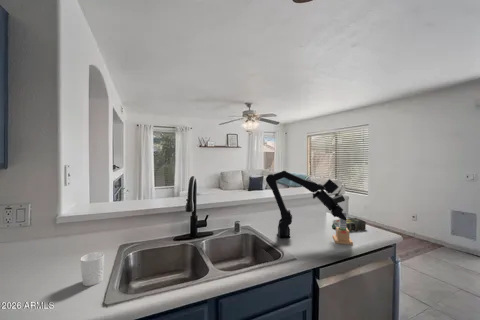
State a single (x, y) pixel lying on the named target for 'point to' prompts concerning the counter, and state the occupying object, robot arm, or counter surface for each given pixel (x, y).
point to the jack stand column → (342, 222)
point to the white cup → (92, 268)
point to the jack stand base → (342, 237)
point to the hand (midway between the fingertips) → (345, 218)
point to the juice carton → (351, 224)
